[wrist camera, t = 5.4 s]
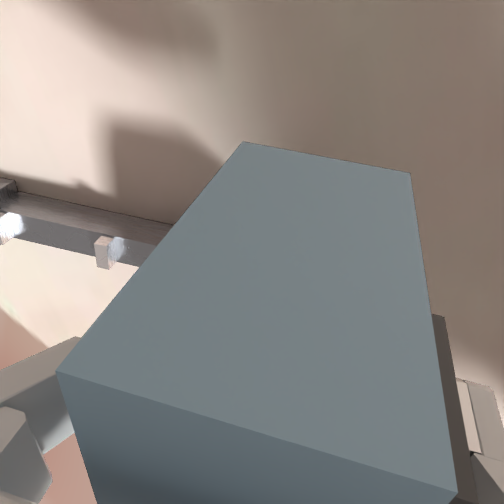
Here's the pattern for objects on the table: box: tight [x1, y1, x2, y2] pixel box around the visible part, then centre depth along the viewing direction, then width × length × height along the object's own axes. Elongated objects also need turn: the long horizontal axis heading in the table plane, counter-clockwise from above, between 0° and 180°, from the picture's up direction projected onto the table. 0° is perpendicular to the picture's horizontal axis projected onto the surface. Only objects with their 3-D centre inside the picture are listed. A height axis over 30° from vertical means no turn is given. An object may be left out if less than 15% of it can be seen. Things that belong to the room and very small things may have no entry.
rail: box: [0, 177, 174, 270], centre depth 25 cm, size 23×4×4 cm, turn 83°
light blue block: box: [55, 142, 479, 504], centre depth 9 cm, size 5×6×8 cm
